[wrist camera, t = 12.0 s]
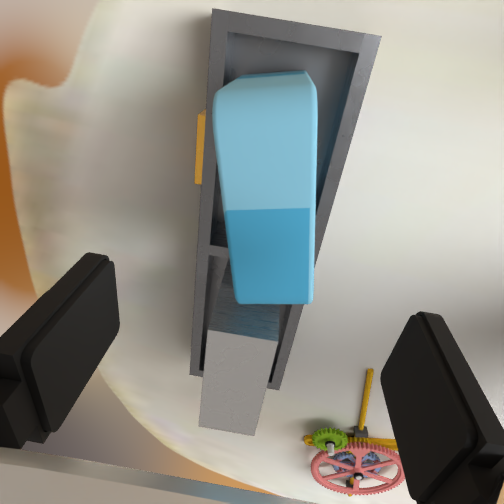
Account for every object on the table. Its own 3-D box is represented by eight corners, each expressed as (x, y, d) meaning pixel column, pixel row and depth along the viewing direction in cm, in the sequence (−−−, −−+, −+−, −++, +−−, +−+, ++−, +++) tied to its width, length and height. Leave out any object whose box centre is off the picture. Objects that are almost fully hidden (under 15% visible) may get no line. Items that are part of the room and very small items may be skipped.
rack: (368, 37, 23) (421, 32, 14) (279, 362, 40) (276, 455, 31) (214, 11, 23) (164, -10, 14) (192, 347, 41) (164, 436, 31)
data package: (242, 73, 24) (206, 94, 14) (306, 68, 23) (319, 86, 13) (254, 224, 30) (235, 315, 20) (305, 223, 30) (313, 316, 19)
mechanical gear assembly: (304, 487, 56) (397, 489, 55) (306, 517, 53) (405, 520, 51) (303, 365, 41) (432, 363, 39) (306, 395, 37) (448, 395, 36)
